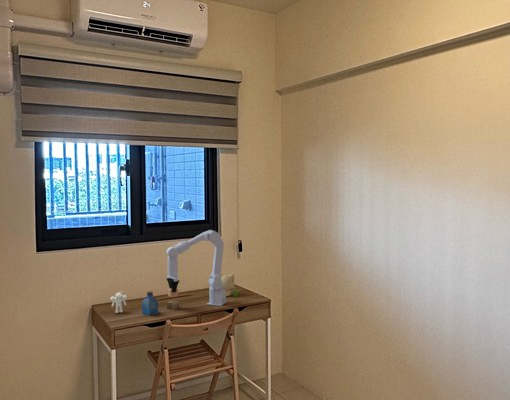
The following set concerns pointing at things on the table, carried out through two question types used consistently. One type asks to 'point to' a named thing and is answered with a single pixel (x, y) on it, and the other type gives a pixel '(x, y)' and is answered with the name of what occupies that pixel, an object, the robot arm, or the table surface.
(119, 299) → the hat wearing toy figure
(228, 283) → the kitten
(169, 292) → the block
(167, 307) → the slab lower
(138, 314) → the table surface
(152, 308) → the perfume bottle
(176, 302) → the slab upper
